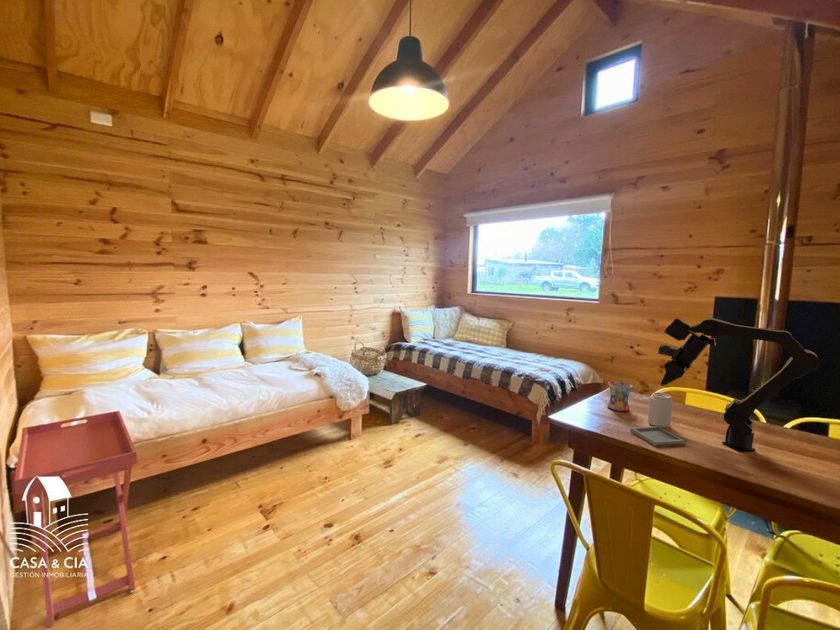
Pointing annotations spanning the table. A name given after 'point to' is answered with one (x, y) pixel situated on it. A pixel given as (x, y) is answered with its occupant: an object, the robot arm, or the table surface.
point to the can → (660, 410)
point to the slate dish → (657, 436)
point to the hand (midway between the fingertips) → (664, 382)
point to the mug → (619, 395)
